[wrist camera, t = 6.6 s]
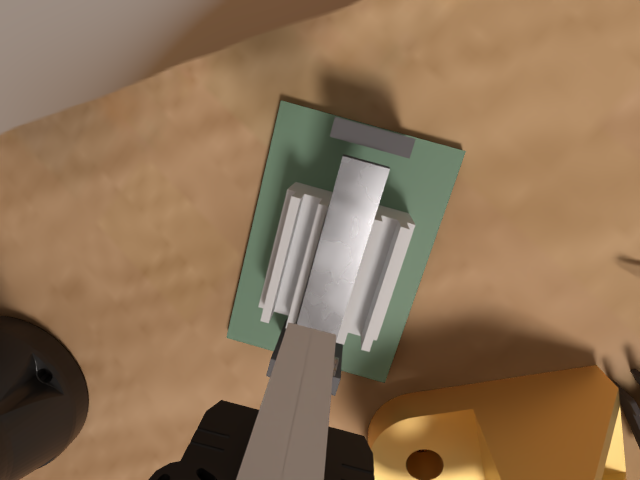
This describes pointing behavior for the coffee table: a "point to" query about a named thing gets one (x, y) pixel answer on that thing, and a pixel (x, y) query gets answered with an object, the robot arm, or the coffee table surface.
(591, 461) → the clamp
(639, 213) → the coffee table surface
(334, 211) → the strap
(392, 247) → the heatsink base
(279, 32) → the coffee table surface
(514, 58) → the coffee table surface
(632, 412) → the clip-on lamp
